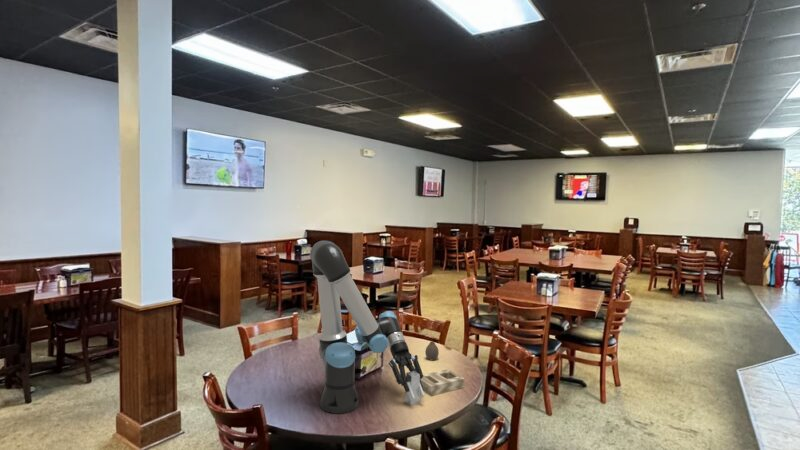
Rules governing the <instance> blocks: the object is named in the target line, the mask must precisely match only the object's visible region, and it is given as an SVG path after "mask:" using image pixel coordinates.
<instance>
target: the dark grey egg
mask: <svg viewBox="0 0 800 450" xmlns="http://www.w3.org/2000/svg"><path fill="white" fill-rule="evenodd" d="M424 352H425V357H426V359H427V360H430V361H435V360H437V358H438V357H439V354H440V353H439V347H438V346H437V344H436V343H435V342H434V341H429V343H428V344H427V346H426V347H425V351H424Z"/></svg>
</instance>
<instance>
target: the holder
mask: <svg viewBox="0 0 800 450" xmlns="http://www.w3.org/2000/svg"><path fill="white" fill-rule="evenodd" d="M421 383H422V385H423V388H422V390H423V392H424V393H426V394H427V395H429V396H430V397H432V396H436V395H440V394H445V393H447V392H452V391H457V390H459V389H463V388H465V378H464V377H462V376H461V375H459V374H457V373H456V372H454V371H452V370H450V369H449V368H447V369H441V370H438V371H433V372H430V373H425V374H424V373H423V377H422V379H421Z"/></svg>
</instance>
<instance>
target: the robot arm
mask: <svg viewBox="0 0 800 450" xmlns="http://www.w3.org/2000/svg"><path fill="white" fill-rule="evenodd" d="M309 257H310V260H311V263H312V264H311V265H312V273H313V274H312V275H313V276H314V277H315V278H317V280H316V281H317V289H318V299H319V310H320V319H321V321H320V322H321V334H319V337H318V338H319V350H318V353H319V357H320V358H321V361H322V363H323V366H324V372H325V373H324V374H325V375H324V388H323V391H322V394H321V397H320V401H319V402H320V403H319V404H320V409H321V410H323V411H325V412H326V411H327V413H329V412H331V414H346V413H350V412H352V411H354V410H356V409H357V408H358V406H359V396H358V393H357V390H356V385H355V377H356V375H355V374H356V373H355V372H356V371H355V358H356V351H355V348H354V346H352V345H351V344H350V343H348V337H347V332H346V331H345V330H343V321H342V309H341V308H342V307H341V301H342V302H343V304H344V306H345V308H346V309H347V311H348V312H349V314H350V316H351V317H352V320H353V321H354V323H355V325H356V326H355V328H354V332H355V333H354V334H355V337H356V341H357V343H359V344H362V343H366V345H368V347H369V349H370V351H372V352H373V353H375V354H382V353H383V352H384V351H386V350H387V348H388V347H389V350H390V353H391V355H392V357H393V358H392V359H390V361H389V362H388V365H389V367H391V370H392V373H393V375H394V378H395V380H396V383H397V384H398V385H401V387H403V388H404V391H405V393H406V392H408V395H409V398H410V401H411V400H413V399H414V398H415V397H414V394H413V391H412V389H411V386H410V383H409V382H407V379H406V369H405V367H406V368H407V369H408V372H412V371H415V372H417V373H418V374H420V386H419V399H422V398H423V397H424V396H425V391H423V390H422V388H423V385H422V383H421V379H422V377H423V375H424V373H423V372H422V368H421V365H420V362H419V358H418V357H419V356H418V355H416V354H415V355H412V353H410V350H409V346H408V344H407V342H406V339H405V337H404V334H403V331H402V330H401V326H400V324H399V321H398V318H397V316H396V314H395V312H394V311H392V310H386V311H384V312H382V313H380V314H379V316H378V319H377V320H376V318H375V317H374V315H373V313H372V312H371V310H370V308H369V306H368V304H367V303H366V300H365V298H364V297H363V295H362V293H361V292H360V290H359V288H358V286H357V285H356V283H355V281H354V279H353V277H352V275H351V269H350V267H349V265H348V263H347V261H346V258H345V255H344V254H343V250H341V248H340V247H339V246H338V245H337V244H335V243H334V242H332V241H330V240H320V241H318V242H316V243H315V244H314V245H313V246H312V248H311V250H310V252H309Z"/></svg>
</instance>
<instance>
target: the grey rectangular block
mask: <svg viewBox="0 0 800 450" xmlns="http://www.w3.org/2000/svg"><path fill="white" fill-rule="evenodd" d="M405 374H406V379H407V382H409V383H410V386H411V389H412V391H413V394H414V397H415V398H414V399H413V400H411V401H410V398H409V395H408V392H405V402H406V403H407V404H408V405H410V406H414V405H417V404H420V396H419V386H420V374H418V373H417V372H415V371H412V372H410V371H408V372H407V371H406V372H405Z"/></svg>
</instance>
